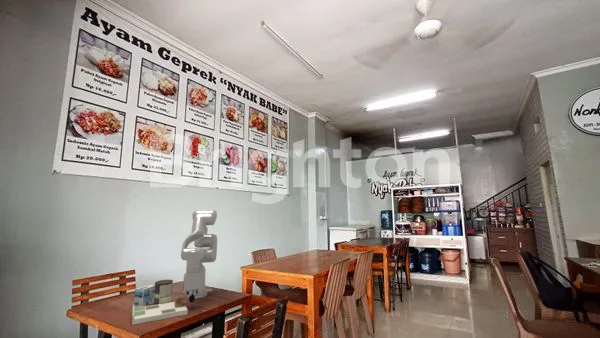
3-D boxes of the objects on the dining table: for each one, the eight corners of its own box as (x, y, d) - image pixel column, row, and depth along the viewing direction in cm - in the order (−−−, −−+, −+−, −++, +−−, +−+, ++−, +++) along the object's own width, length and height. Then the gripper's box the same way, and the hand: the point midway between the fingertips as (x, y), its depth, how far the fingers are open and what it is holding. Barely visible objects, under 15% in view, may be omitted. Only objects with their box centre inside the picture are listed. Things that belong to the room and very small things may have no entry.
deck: (182, 304, 176) (182, 297, 177) (187, 314, 159) (187, 306, 160) (132, 313, 163) (132, 304, 163) (132, 324, 146) (132, 315, 146)
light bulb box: (142, 308, 171) (143, 289, 173) (133, 307, 172) (134, 289, 174) (154, 302, 181) (155, 284, 183) (145, 301, 183) (146, 284, 184)
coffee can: (150, 307, 171) (151, 283, 173) (159, 302, 181) (160, 279, 183) (166, 307, 171) (168, 283, 173) (174, 302, 181) (175, 279, 183)
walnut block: (183, 303, 170) (183, 295, 171) (184, 306, 166) (185, 297, 166) (174, 305, 167) (174, 296, 168) (175, 307, 163) (175, 298, 164)
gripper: (204, 268, 180) (203, 298, 177) (178, 271, 172) (177, 302, 169) (206, 270, 173) (205, 301, 171) (180, 273, 166) (179, 306, 163)
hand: (191, 302), depth 170 cm, fingers closed
